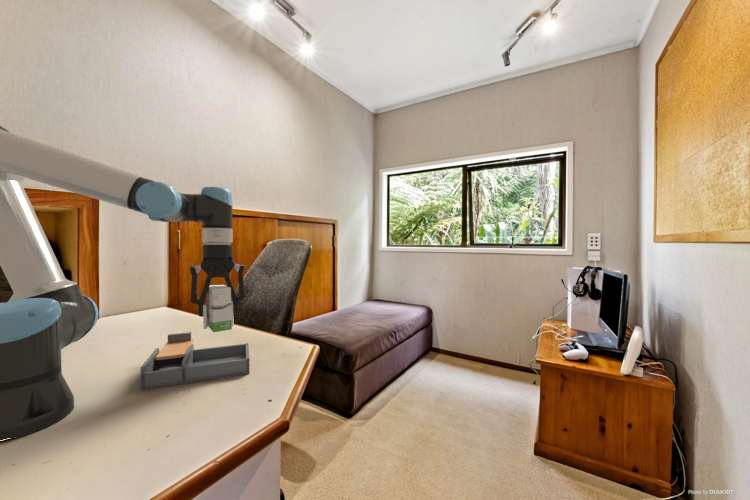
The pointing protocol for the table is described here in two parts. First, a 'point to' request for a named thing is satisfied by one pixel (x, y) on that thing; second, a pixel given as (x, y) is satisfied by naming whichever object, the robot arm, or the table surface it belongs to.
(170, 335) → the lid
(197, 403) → the table surface
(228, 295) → the ink box
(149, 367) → the tray
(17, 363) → the robot arm
